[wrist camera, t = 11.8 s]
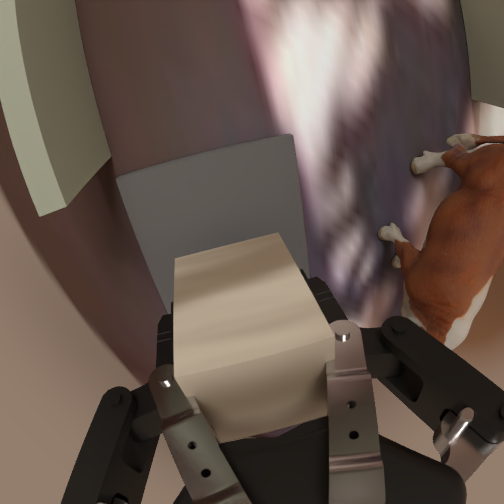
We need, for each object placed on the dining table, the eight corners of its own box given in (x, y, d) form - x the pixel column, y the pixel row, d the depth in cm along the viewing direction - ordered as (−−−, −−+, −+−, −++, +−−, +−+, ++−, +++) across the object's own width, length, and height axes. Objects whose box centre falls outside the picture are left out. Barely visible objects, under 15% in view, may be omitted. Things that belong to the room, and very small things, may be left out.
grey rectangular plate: (118, 176, 13) (115, 179, 13) (289, 133, 14) (293, 135, 13) (190, 355, 20) (190, 361, 19) (311, 324, 20) (314, 329, 20)
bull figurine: (320, 293, 19) (380, 402, 12) (438, 101, 14) (559, 140, 7) (368, 309, 21) (429, 401, 14) (475, 142, 16) (576, 192, 9)
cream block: (174, 258, 14) (173, 377, 8) (278, 232, 14) (334, 336, 9) (203, 332, 16) (216, 443, 11) (289, 310, 16) (333, 412, 11)
